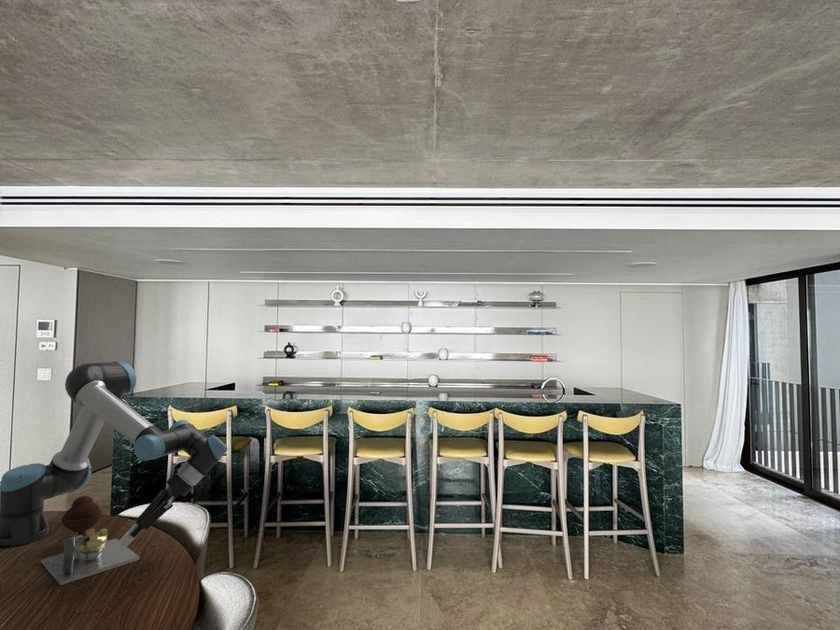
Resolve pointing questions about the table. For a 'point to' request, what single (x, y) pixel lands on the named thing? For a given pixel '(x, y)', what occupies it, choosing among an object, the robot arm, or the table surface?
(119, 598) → the table surface
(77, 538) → the multicoloured piece
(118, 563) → the mounting plate
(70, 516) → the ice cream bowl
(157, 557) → the table surface
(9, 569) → the table surface
